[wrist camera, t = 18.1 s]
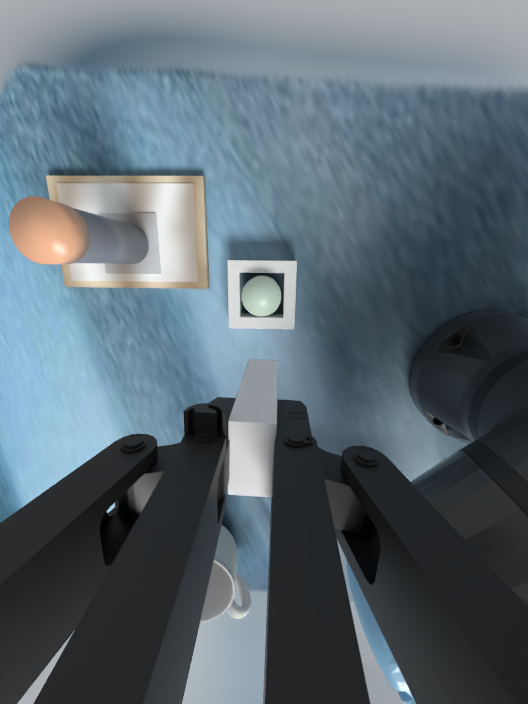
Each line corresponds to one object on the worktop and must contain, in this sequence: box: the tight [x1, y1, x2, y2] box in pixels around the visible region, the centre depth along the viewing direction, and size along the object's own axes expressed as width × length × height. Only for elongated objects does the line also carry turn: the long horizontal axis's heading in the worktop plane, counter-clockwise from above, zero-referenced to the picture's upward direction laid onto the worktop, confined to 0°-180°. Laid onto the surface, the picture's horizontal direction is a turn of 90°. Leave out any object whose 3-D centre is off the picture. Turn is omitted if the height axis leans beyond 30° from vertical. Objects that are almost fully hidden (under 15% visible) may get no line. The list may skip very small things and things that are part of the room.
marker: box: [9, 196, 148, 264], centre depth 26 cm, size 4×4×12 cm
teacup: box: [200, 525, 251, 623], centre depth 41 cm, size 14×11×8 cm
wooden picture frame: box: [46, 176, 209, 289], centre depth 32 cm, size 16×11×1 cm
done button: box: [242, 275, 281, 316], centre depth 32 cm, size 4×4×3 cm
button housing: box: [227, 260, 297, 329], centre depth 33 cm, size 7×7×2 cm
